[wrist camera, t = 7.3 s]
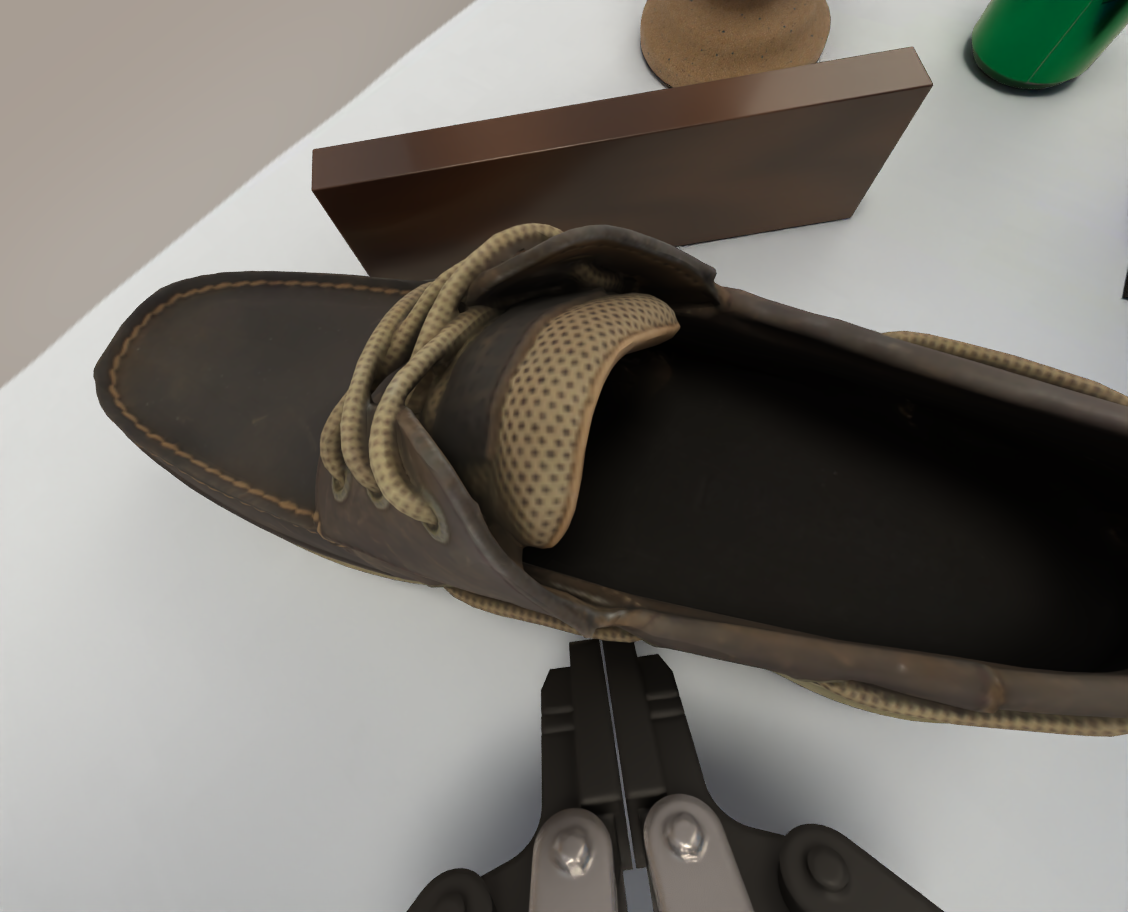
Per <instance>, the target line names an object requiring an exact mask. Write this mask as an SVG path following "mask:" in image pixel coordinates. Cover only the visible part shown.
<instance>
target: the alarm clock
mask: <svg viewBox="0 0 1128 912" xmlns="http://www.w3.org/2000/svg"><path fill="white" fill-rule="evenodd" d="M1123 298H1128V275H1127V280H1126V285H1125V290H1124V295H1123Z"/></svg>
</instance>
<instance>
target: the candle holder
mask: <svg viewBox="0 0 1128 912" xmlns="http://www.w3.org/2000/svg"><path fill="white" fill-rule="evenodd" d="M830 20H831V17H830V12H829V7H828V5H827V3H826V0H647V2H646V5H645V7H644V10H643V14H642V19H641V27H640V35H641V47H642V52H643V55H644V57H645V59H646V61H647V63H648V65H649V66H650V68H651V69H652V70H653V72H654V73H655V74H656V75H657V76H658V77H659V78H661V79H662V80H663V81H664V82H666V83H667V84H669V85H670V86H672V87H673V88H674V87H680V86H686V85H692V84H697V83H703V82H709V81H715V80H721V79H726V78H732V77H738V76H744V75H750V74H756V73H761V72H767V71H773V70H779V69H785V68H790V67H796V66H802V65H808V64H814V63H816V62H817V60H818V59H819V57H820V55H821V53H822V51H823V49H824V46H825V44H826V41H827V37H828V34H829V30H830Z"/></svg>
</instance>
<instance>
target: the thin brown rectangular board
mask: <svg viewBox="0 0 1128 912" xmlns="http://www.w3.org/2000/svg"><path fill="white" fill-rule="evenodd" d="M932 86H933V83H932V81H931V79H930V77H929V76H928V74H927V72H926V70H925V68H924V66H923V64H922V62H921V60H920V59H919V57H918V55H917V53H916V51H915V49H914V47H907V48H901V49H895V50H889V51H884V52H878V53H872V54H866V55H860V56H855V57H849V58H843V59H837V60H831V61H825V62H820V63H814V64H808V65H802V66H796V67H790V68H785V69H779V70H773V71H767V72H761V73H756V74H750V75H744V76H738V77H732V78H726V79H721V80H715V81H709V82H703V83H697V84H692V85H686V86H680V87H674V88H668V89H662V90H657V91H651V92H645V93H639V94H633V95H627V96H622V97H616V98H610V99H604V100H598V101H593V102H587V103H581V104H575V105H569V106H563V107H558V108H552V109H546V110H540V111H534V112H529V113H523V114H517V115H511V116H505V117H499V118H494V119H488V120H482V121H476V122H470V123H464V124H459V125H453V126H447V127H441V128H435V129H430V130H424V131H418V132H412V133H406V134H400V135H395V136H389V137H383V138H377V139H371V140H365V141H360V142H354V143H348V144H342V145H336V146H331V147H325V148H319V149H314V150H313V155H312V192H313V193H314V195H315V196H316V198H317V199H318V201H319V202H320V204H321V205H322V207H323V208H324V210H325V211H326V213H327V214H328V216H329V217H330V218H331V220H332V221H333V223H334V224H335V226H336V227H337V229H338V230H339V232H340V233H341V235H342V236H343V238H344V239H345V241H346V242H347V244H348V245H349V247H350V248H351V250H352V251H353V253H354V254H355V256H356V257H357V259H358V260H359V262H360V263H361V265H362V266H363V268H364V269H365V270H366V272H367V273H368V275H369V276H370V277H379V278H391V279H402V280H416V281H422V280H429V279H434V278H438V277H439V276H440V275H441V274H442V273H443V272H445V271H446V270H448V269H449V268H451V267H453V266H454V265H456V264H457V263H459V262H461V261H462V260H465V259H466V258H467V257H468V256H469V255H470V254H471V253H472V252H474V251H475V250H476V249H477V248H478V247H480V246H481V245H482V244H483V243H484V242H486V241H487V240H488V239H489V238H490V237H492V236H493V235H494V234H496V233H499V232H501V231H504V230H506V229H509V228H511V227H514V226H516V225H522V224H529V223H537V224H546V225H550V226H553V227H555V228H558V229H560V230H561V231H563V232H565V231H567V230H570V229H574V228H579V227H583V226H588V225H611V226H616V227H621V228H626V229H630V230H633V231H636V232H638V233H641V234H644V235H647V236H650V237H652V238H655V239H657V240H660V241H662V242H665V243H667V244H670V245H672V246H674V247H675V246H681V245H687V244H693V243H699V242H705V241H711V240H717V239H723V238H730V237H736V236H742V235H748V234H754V233H760V232H766V231H772V230H778V229H784V228H790V227H796V226H802V225H808V224H815V223H821V222H827V221H833V220H839V219H845V218H850V217H851V216H852V215H853V213H854V212H855V210H856V208H857V207H858V205H859V204H860V202H861V200H862V199H863V197H864V196H865V194H866V192H867V191H868V189H869V187H870V186H871V184H872V183H873V181H874V179H875V178H876V176H877V175H878V173H879V171H880V170H881V168H882V167H883V165H884V163H885V162H886V160H887V158H888V157H889V155H890V154H891V152H892V150H893V149H894V147H895V146H896V144H897V142H898V141H899V139H900V138H901V136H902V134H903V133H904V131H905V130H906V128H907V126H908V125H909V123H910V121H911V120H912V118H913V117H914V115H915V113H916V112H917V110H918V109H919V107H920V105H921V104H922V102H923V101H924V99H925V97H926V96H927V94H928V93H929V91H930V89H931V88H932ZM523 252H525V250H523V251H517V252H516V254H515V255H514V256H513V257H515V256H517V255H519V254H521V253H523Z"/></svg>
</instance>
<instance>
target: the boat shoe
mask: <svg viewBox="0 0 1128 912" xmlns="http://www.w3.org/2000/svg"><path fill="white" fill-rule="evenodd" d="M523 250H525V252H523V253H521V254H519V255H517V256H515V257H513V256H514V255H515V254H516V252H517V251H523ZM716 274H717V273H716V270H715V269H714V268H713V267H711V266H709V265H707V264H705V263H703V262H701V261H699V260H698V259H696V258H694V257H692V256H691V255H689V254H687V253H685V252H683V251H681V250H679V249H678V248H676V247H674V246H672V245H670V244H667V243H665V242H662V241H660V240H657V239H655V238H652V237H650V236H647V235H644V234H641V233H638V232H636V231H633V230H630V229H626V228H621V227H616V226H611V225H588V226H583V227H579V228H574V229H570V230H567V231H565V232H563V231H561V230H560V229H558V228H555V227H553V226H550V225H546V224H537V223H529V224H522V225H516V226H514V227H511V228H509V229H506V230H504V231H501V232H499V233H496V234H494V235H493V236H492V237H490V238H489V239H488V240H487V241H486V242H484V243H483V244H482V245H481V246H480V247H478V248H477V249H476V250H475V251H474V252H472V253H471V254H470V255H469V256H468V257H467V258H466V259H465V260H462V261H461V262H459V263H457V264H456V265H454V266H453V267H451V268H449V269H448V270H446V271H445V272H443V273H442V274H441V275H440V276H439V277H438V278H434V279H429V280H422V281H416V280H402V279H391V278H379V277H369V276H358V275H346V274H329V273H307V272H281V271H243V272H221V273H216V274H210V275H201V276H198V277H194V278H189V279H184V280H181V281H178V282H175V283H172V284H170V285H167V286H165V287H163V288H161V289H159V290H158V291H156V292H155V293H154V294H152V295H151V296H150V297H148V298H147V299H146V300H145V301H144V302H143V303H141V304H140V305H139V306H138V307H137V308H136V309H135V311H134V312H133V313H132V314H131V315H130V316H129V317H128V318H127V319H126V321H125V322H124V323H123V324H122V325H121V327H120V328H119V330H118V331H117V333H116V334H115V336H114V337H113V339H112V341H111V342H110V344H109V345H108V347H107V348H106V350H105V351H104V353H103V354H102V356H101V357H100V359H99V360H98V362H97V364H96V366H95V368H94V376H93V377H94V379H95V383H96V393H97V397H98V400H99V403H100V405H101V407H102V409H103V410H104V412H105V413H106V415H107V416H108V417H109V418H110V419H111V420H112V422H114V423H115V424H116V425H117V426H118V427H119V428H120V429H121V430H122V431H123V432H124V433H125V435H126V436H127V437H128V438H129V439H130V440H131V441H132V442H133V443H134V444H136V445H137V446H138V447H139V448H140V449H141V450H142V451H143V452H144V453H145V454H147V455H148V456H149V457H150V458H151V459H153V460H154V461H155V462H156V463H157V464H159V465H160V466H161V467H163V468H164V469H166V470H167V471H168V472H170V473H171V474H172V475H174V476H175V477H176V478H177V479H179V480H180V481H182V482H183V483H184V484H186V485H187V486H189V487H190V488H191V489H193V490H195V491H196V492H198V493H199V494H201V495H203V496H204V497H206V498H207V499H209V500H211V501H212V502H214V503H216V504H217V505H219V506H221V507H223V508H225V509H226V510H228V511H230V512H232V513H234V514H236V515H237V516H239V517H241V518H243V519H245V520H247V521H248V522H250V523H252V524H254V525H256V526H258V527H260V528H262V529H264V530H266V531H268V532H270V533H272V534H274V535H276V536H278V537H281V538H283V539H285V540H287V541H289V542H291V543H293V544H295V545H297V546H299V547H301V548H303V549H305V550H308V551H310V552H312V553H314V554H317V555H319V556H321V557H323V558H326V559H328V560H331V561H334V562H336V563H339V564H341V565H344V566H347V567H350V568H353V569H356V570H360V571H363V572H366V573H370V574H374V575H378V576H382V577H386V578H390V579H394V580H399V581H404V582H409V583H417V584H423V585H427V586H429V587H444V588H445V589H446V590H447V591H448V592H449V593H450V594H451V595H452V596H453V597H455V598H457V599H459V600H461V601H463V602H465V603H467V604H468V605H470V606H472V607H475V608H478V609H481V610H484V611H487V612H490V613H493V614H496V615H500V616H505V617H509V618H513V619H518V620H522V621H526V622H531V623H535V624H539V625H544V626H547V627H551V628H555V629H559V630H562V631H566V632H570V633H574V634H577V635H581V636H583V637H584V638H594V639H600V640H605V641H616V642H628V643H630V642H635V641H640V640H643V641H644V642H646V643H648V644H649V645H652V646H654V647H661V648H669V649H673V650H678V651H682V652H687V653H692V654H696V655H701V656H706V657H710V658H715V659H719V660H724V661H729V662H734V663H738V664H743V665H748V666H753V667H757V668H762V669H766V670H770V671H773V672H775V673H777V674H779V675H781V676H783V677H785V678H787V679H789V680H791V681H793V682H794V683H796V684H798V685H800V686H802V687H805V688H807V689H809V690H811V691H813V692H816V693H818V694H820V695H822V696H825V697H827V698H829V699H832V700H835V701H838V702H840V703H843V704H846V705H849V706H852V707H855V708H859V709H862V710H866V711H869V712H873V713H877V714H880V715H885V716H890V717H895V718H899V719H904V720H910V721H920V722H931V723H951V724H957V725H967V726H978V727H988V728H999V729H1010V730H1022V731H1033V732H1044V733H1056V734H1067V735H1083V736H1109V737H1112V736H1118V735H1124V734H1128V397H1127V396H1125V395H1123V394H1121V393H1119V392H1117V391H1115V390H1112V389H1110V388H1108V387H1106V386H1104V385H1102V384H1100V383H1098V382H1095V381H1092V380H1089V379H1086V378H1083V377H1080V376H1077V375H1073V374H1070V373H1067V372H1064V371H1061V370H1058V369H1055V368H1052V367H1049V366H1045V365H1042V364H1039V363H1036V362H1033V361H1030V360H1027V359H1024V358H1021V357H1017V356H1014V355H1010V354H1007V353H1003V352H999V351H995V350H991V349H987V348H983V347H979V346H976V345H972V344H968V343H964V342H960V341H956V340H951V339H947V338H943V337H939V336H934V335H930V334H924V333H916V332H909V331H897V332H886V333H882V334H881V333H879V332H876V331H872V330H869V329H866V328H863V327H860V326H857V325H854V324H851V323H848V322H845V321H842V320H839V319H834V318H830V317H826V316H822V315H818V314H814V313H810V312H807V311H804V310H800V309H797V308H794V307H790V306H787V305H784V304H781V303H777V302H774V301H771V300H768V299H764V298H762V297H759V296H756V295H754V294H751V293H748V292H746V291H743V290H740V289H734V288H728V287H722V286H719V285H718V284H716V283H715V282H714V279H715V276H716Z"/></svg>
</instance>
